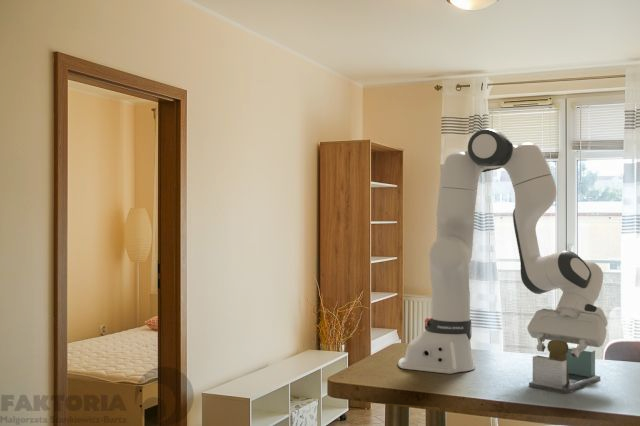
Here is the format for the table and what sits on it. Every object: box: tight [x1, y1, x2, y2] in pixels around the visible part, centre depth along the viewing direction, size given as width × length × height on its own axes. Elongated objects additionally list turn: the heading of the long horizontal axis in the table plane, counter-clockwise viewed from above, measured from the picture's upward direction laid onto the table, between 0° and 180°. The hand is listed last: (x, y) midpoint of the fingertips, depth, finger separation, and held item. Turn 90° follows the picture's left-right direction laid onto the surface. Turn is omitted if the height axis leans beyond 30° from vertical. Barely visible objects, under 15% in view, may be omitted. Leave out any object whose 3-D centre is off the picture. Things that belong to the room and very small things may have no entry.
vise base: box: [528, 355, 601, 395], centre depth 177 cm, size 21×10×8 cm, turn 135°
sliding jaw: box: [566, 346, 596, 377], centre depth 183 cm, size 2×8×7 cm, turn 44°
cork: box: [547, 340, 570, 385], centre depth 174 cm, size 6×6×11 cm
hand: (556, 352), depth 173 cm, fingers open, 8 cm apart
